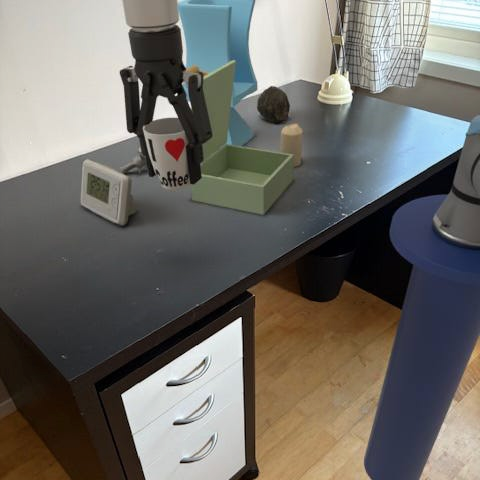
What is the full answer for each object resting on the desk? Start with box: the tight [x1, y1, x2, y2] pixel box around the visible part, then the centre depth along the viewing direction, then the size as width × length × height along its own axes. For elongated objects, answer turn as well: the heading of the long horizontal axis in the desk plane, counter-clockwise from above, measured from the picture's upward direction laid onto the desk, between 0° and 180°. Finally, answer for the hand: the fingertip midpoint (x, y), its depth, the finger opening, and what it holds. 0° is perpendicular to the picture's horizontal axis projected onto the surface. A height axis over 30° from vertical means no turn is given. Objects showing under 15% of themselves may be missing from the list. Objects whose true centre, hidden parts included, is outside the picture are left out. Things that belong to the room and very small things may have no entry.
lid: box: [183, 60, 236, 164], centre depth 109 cm, size 19×19×8 cm
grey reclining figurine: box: [119, 147, 147, 175], centre depth 125 cm, size 10×6×9 cm
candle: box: [280, 123, 304, 168], centre depth 124 cm, size 6×6×10 cm
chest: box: [190, 144, 294, 216], centre depth 114 cm, size 19×19×7 cm
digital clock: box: [80, 158, 136, 227], centre depth 107 cm, size 16×9×11 cm, turn 37°
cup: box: [143, 117, 191, 191], centre depth 80 cm, size 8×8×10 cm
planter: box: [177, 0, 258, 151], centre depth 129 cm, size 16×16×35 cm
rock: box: [256, 85, 291, 123], centre depth 150 cm, size 10×11×10 cm
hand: (175, 177), depth 83 cm, fingers closed on cup, 8 cm apart
